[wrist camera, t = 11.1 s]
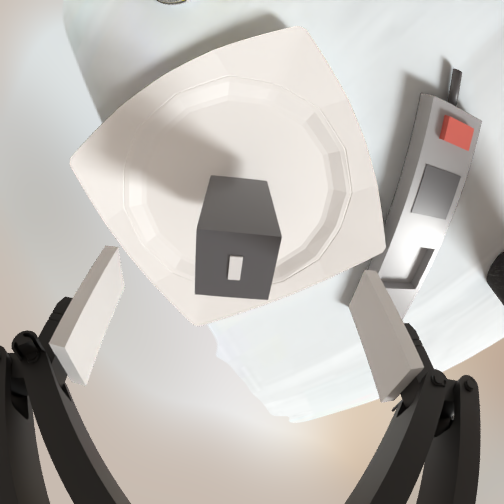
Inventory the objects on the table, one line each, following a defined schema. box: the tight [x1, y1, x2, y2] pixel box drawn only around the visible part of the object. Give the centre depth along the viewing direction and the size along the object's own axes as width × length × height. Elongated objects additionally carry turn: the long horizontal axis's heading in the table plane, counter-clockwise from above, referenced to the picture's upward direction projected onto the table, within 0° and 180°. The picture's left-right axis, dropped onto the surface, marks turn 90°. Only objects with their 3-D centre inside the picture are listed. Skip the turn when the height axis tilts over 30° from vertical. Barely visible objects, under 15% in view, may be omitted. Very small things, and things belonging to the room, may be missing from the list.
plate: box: [70, 26, 386, 326], centre depth 25 cm, size 24×24×3 cm
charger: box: [195, 175, 282, 300], centre depth 20 cm, size 4×4×9 cm
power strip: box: [368, 69, 482, 319], centre depth 25 cm, size 30×7×3 cm, turn 173°
